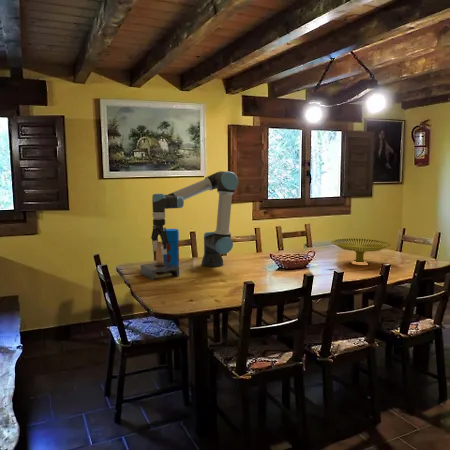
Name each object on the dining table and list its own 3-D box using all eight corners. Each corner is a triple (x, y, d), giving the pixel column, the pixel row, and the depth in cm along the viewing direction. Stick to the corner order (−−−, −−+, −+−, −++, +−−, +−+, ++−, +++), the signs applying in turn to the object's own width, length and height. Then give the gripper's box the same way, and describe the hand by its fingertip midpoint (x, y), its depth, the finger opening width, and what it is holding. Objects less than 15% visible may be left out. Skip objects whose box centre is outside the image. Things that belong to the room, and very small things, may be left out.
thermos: (176, 267, 299) (175, 231, 296) (161, 267, 301) (160, 230, 298) (180, 264, 310) (180, 228, 307) (166, 263, 312) (165, 228, 309)
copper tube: (161, 274, 281) (161, 246, 279) (164, 275, 278) (163, 247, 276) (155, 275, 279) (155, 246, 277) (158, 276, 276) (157, 247, 273)
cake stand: (318, 263, 315) (319, 242, 313) (350, 255, 342) (350, 236, 340) (370, 273, 286) (371, 250, 284) (400, 264, 313) (401, 243, 311)
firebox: (166, 270, 291) (166, 261, 290) (179, 276, 276) (179, 266, 275) (140, 274, 281) (140, 264, 280) (152, 280, 266) (152, 270, 265)
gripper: (145, 217, 282) (146, 250, 285) (161, 221, 261) (162, 256, 264) (156, 216, 286) (157, 248, 289) (173, 220, 265) (174, 255, 268)
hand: (159, 252), depth 277 cm, fingers open, 13 cm apart
